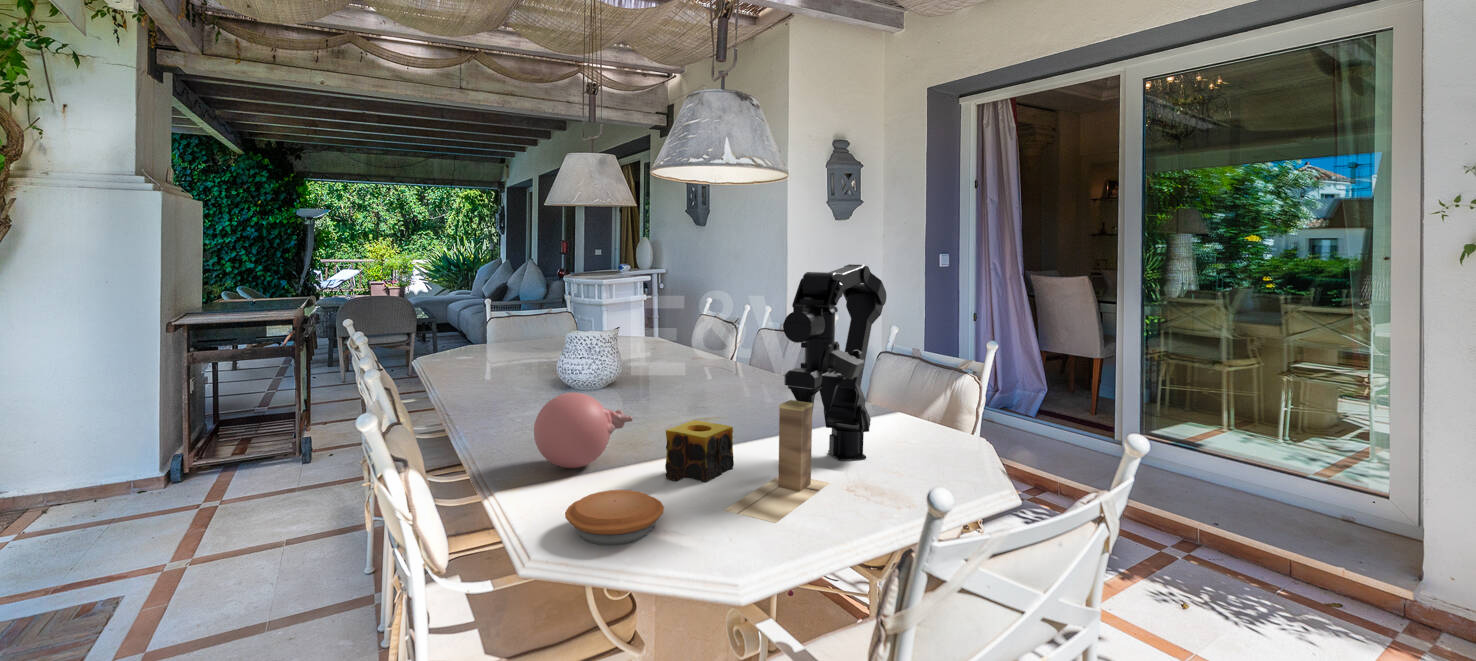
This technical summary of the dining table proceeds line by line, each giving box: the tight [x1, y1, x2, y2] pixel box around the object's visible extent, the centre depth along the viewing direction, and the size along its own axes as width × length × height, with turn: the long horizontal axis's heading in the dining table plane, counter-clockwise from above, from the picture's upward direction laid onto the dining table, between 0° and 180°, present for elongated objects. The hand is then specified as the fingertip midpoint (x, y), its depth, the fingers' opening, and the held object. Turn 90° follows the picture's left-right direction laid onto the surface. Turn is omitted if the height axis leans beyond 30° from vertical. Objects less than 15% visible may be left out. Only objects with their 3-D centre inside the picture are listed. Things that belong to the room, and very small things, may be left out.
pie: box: [564, 489, 665, 546], centre depth 108 cm, size 16×16×5 cm
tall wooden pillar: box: [777, 399, 814, 492], centre depth 124 cm, size 5×5×16 cm
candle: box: [664, 419, 735, 483], centre depth 133 cm, size 10×10×10 cm
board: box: [723, 476, 831, 524], centre depth 120 cm, size 22×10×1 cm, turn 149°
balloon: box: [533, 392, 634, 469], centre depth 139 cm, size 15×20×15 cm
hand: (818, 415), depth 132 cm, fingers open, 9 cm apart
